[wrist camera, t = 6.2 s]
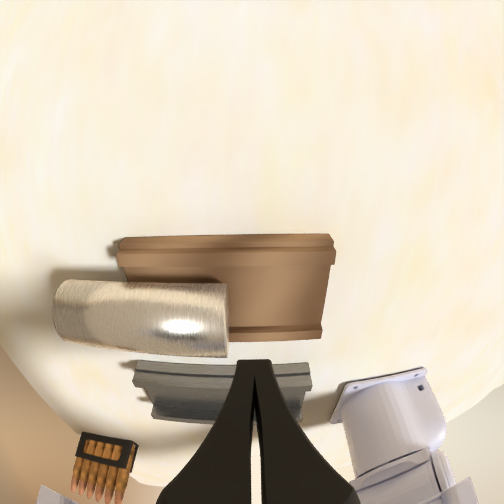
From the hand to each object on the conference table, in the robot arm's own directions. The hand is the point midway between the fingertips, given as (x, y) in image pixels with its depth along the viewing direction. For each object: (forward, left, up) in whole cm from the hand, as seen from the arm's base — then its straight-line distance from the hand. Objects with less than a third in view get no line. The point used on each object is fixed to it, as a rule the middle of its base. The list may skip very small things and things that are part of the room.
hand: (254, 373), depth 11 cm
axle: (+6, 0, -6) cm, 9 cm away
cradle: (+3, +11, -7) cm, 13 cm away
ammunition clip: (+23, +30, -7) cm, 38 cm away
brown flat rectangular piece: (+2, 0, -7) cm, 7 cm away
